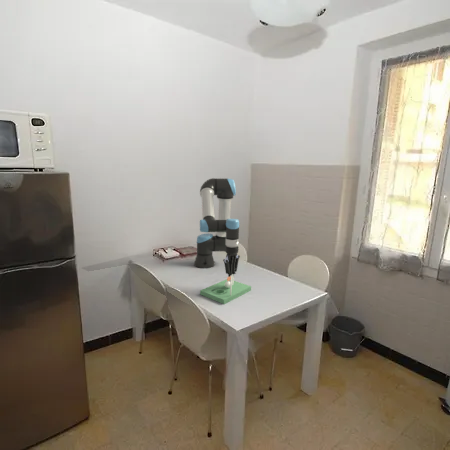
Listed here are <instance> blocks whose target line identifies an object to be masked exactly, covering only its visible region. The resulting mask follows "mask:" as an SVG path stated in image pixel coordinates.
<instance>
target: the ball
mask: <svg viewBox="0 0 450 450" xmlns="http://www.w3.org/2000/svg"><path fill="white" fill-rule="evenodd" d="M225 287H226V288H230V281H226V282H225Z"/></svg>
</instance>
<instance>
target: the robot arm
mask: <svg viewBox="0 0 450 450" xmlns="http://www.w3.org/2000/svg"><path fill="white" fill-rule="evenodd" d="M236 193H237V189H236V183H235V180H234V179H233V178H228V177H227V178H214V177H213V178H209V179H207V180H205V181H204V182H203V183H202V184H201V186H200V189H199V196H200V198H201V206H202V207H201V209H202V219H199V232H201V233H202V234H199V235H198V236H197V237H196V257H195V259H194V265H193V266H195V268H201V269H210V268H213V267H215V265H216V264H215V260H214V256H213V255H214V254H213V252H215V253H216V252H223V253H224V252H225V254H226V256H225V258H223V260H222V261H223V263H224V264H223V265H224V269H225V270H224V271H225V274H227V275H228V276H227V277H230V276H232V285H234V281H235V280H234V279H235V275H236V274H237V271H238V266H239V260H240V257H241V256H240V255H238V253H239V237H240V219H238V218H231V207H232V200H233V199H234V196H235V197H236ZM214 196H216V198H217V200H218V217H217V219H216V218H215V217H216V216H215V206H214ZM213 233H215V235H213ZM229 281H230V280H229Z"/></svg>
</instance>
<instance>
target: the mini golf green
mask: <svg viewBox="0 0 450 450" xmlns="http://www.w3.org/2000/svg"><path fill="white" fill-rule="evenodd" d="M229 280H230V288H226V287H225V282H226V281H229ZM251 291H252V286H251V285H248V284H245V283H242V282H239V281H236V280H234V285H232V276H230V277H228V276H227V277H226V279H224V280H221V281H219V282H217V283H214V284H212V285H210V286H208V287H205V288H203V289H201V290H199V295H201V296H203V297H206V298H208V299H210V300H213V301H216V302H217V303H221V304H222V305H226V304H228V303H229V302H231V301H233V300H235V299H237V298H239V297H242V295H245V294H246V293H247V294H248V293H249V292H251Z"/></svg>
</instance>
